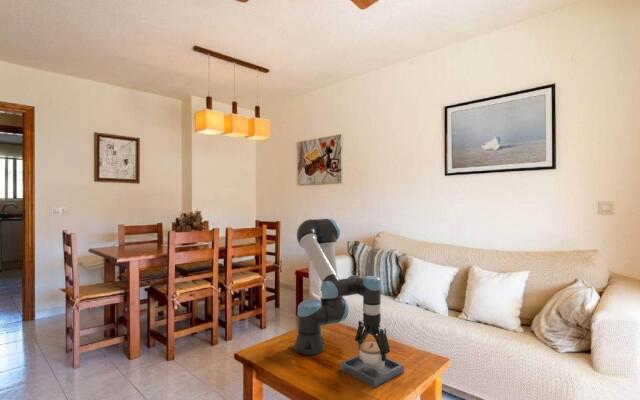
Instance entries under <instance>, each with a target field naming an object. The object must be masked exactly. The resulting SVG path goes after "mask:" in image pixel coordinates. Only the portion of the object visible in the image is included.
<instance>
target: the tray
mask: <svg viewBox="0 0 640 400" xmlns="http://www.w3.org/2000/svg"><path fill="white" fill-rule="evenodd" d="M339 367H340V370H341V371H342V372H345V373H346V374H348V375H349V376H350V377H351V376H352V377H354V379H357V380H359V381H361V382H363V383H365V384H366V385H368V386H369V387H372V388H373V389H375V388H377V387H379V386H380V385H382V384H384V383H386V382H388V381H390V380H392V379H394V378H395V377H398V376H399V375H401V374H403V373H404V372H405V365H404V364H402V363H400V362H398V361H395V360H393V359H391V358H388V357H387V356H386V361H385V367H384V368H382V369H379V366H377V367H368V366H366V365H365V363H364V362H363V361H362V360H361V359H360V354H357V355H355V356H353V357H351V358H348V359H346V360H344V361H341V362H340V364H339Z"/></svg>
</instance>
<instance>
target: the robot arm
mask: <svg viewBox="0 0 640 400" xmlns="http://www.w3.org/2000/svg"><path fill="white" fill-rule="evenodd" d="M340 236H341V228H340V225H339V223H338V222H337V221H336V220H335V219H332V218H317V219H315V218H314V219H305V220H304V221H303V222H302V223H300V224H299V226H298V228H297V231H296V239H297V243H298V244H299V246H300V247H301V248H302V249H304V251H305V253H306V255H307V257H308V260H309V261H310V262H311V264H312V267H313V268H314V270H315V272H316V274H317V276H318V278H319V280H320V281H321V284H320V291H321V296H320V297H319V299H318V298H313V299H312V298H309V299H305V300H303V301H301V302H300V303H299V304H298V306H297V313H296V314H297V335H296V338H295V341H294V345H293V346H294V348H293V349H294V351H295V352H297V353H298V354H300V355H304V356H305V355H306V356H313V355H318V354H322V353H323V351H324V350H325V349H326V348H325V345H326V344H325V342H324V338H323V335H322V326H326V325H327V326H329V325H332V324H338V323H341V322H344V321H345V320H346V319H347V318H348V316H349V312H350V311H349V310H350V309H349V303H348V301H347V300H346V299H345V298H344V297H349V296H354V295H360V296H361V297H362V299H363V300H362V301H363V302H362V305H363V307H362V316H363V317H362V320H359V321H358V327H357V330H356V335H355V338H354V341H355V342H357V344H358V351H359V352H360V347H359V346H360V344H361V343H363V342H365V340H366V339H367V337H368V336H369V335H371V336H373V338H374V339H375V342H377V344H378V347H379V349H380V352H381V353H379V369H382V368H384V367H385V361H386V357H387V354H390V352H391V350H390V345H389V341H388V337H387V328H385V327H384V328H383V327H381V319H382V317H381V315H382V314H381V309H382V308H381V306H382V305H381V304H382V303H381V301H382V300H381V299H382V296H381V295H382V294H381V293H382V291H381V290H382V284H381V278H380V277H379V276H375V275H365V276H364V277H361V276H359V275H349V276H348V277H347V278H339V276H338V268H337V261H336V260H337V259H336V249H335V246H336V245H337V243H338V242H337V240H338V239H339V238H340ZM360 359H361V357H360Z"/></svg>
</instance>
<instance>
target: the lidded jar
mask: <svg viewBox="0 0 640 400" xmlns="http://www.w3.org/2000/svg"><path fill="white" fill-rule="evenodd" d="M359 347H360V351H359V355H360V357H361V360H362V361H363V362H364V363H365V365H366V366H368V367H377V366H379V353H381V352H380V349H379V347H378V344H377V342H376V341H370V340H369V341H364V342H363V343H361V344H360V346H359V345H358V348H359Z"/></svg>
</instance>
